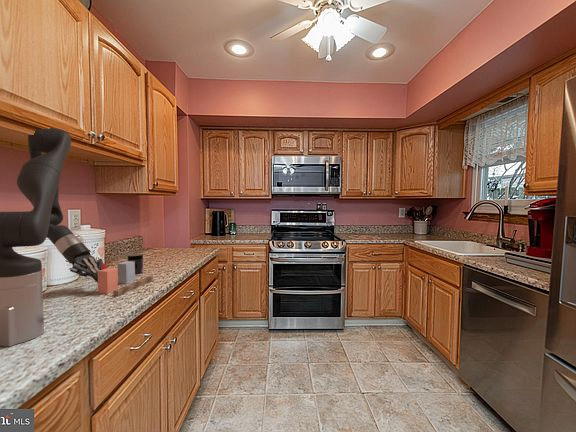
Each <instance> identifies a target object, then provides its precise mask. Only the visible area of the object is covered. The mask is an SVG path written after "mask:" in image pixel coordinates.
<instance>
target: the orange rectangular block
mask: <svg viewBox="0 0 576 432" xmlns="http://www.w3.org/2000/svg"><path fill="white" fill-rule="evenodd" d="M118 285H119V284H118V267H117V268H116V267H108V268H106V269H103V270H100V271H98V283H97V294H103V295H109V294H111V293H113V291H115V290H117V289H119V286H118Z"/></svg>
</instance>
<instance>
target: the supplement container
mask: <svg viewBox="0 0 576 432" xmlns="http://www.w3.org/2000/svg"><path fill="white" fill-rule="evenodd" d="M126 259H127V260H126V261H133V262H135V276H137V275H141V274H143V273H144V253H130V254H127V255H126Z"/></svg>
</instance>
